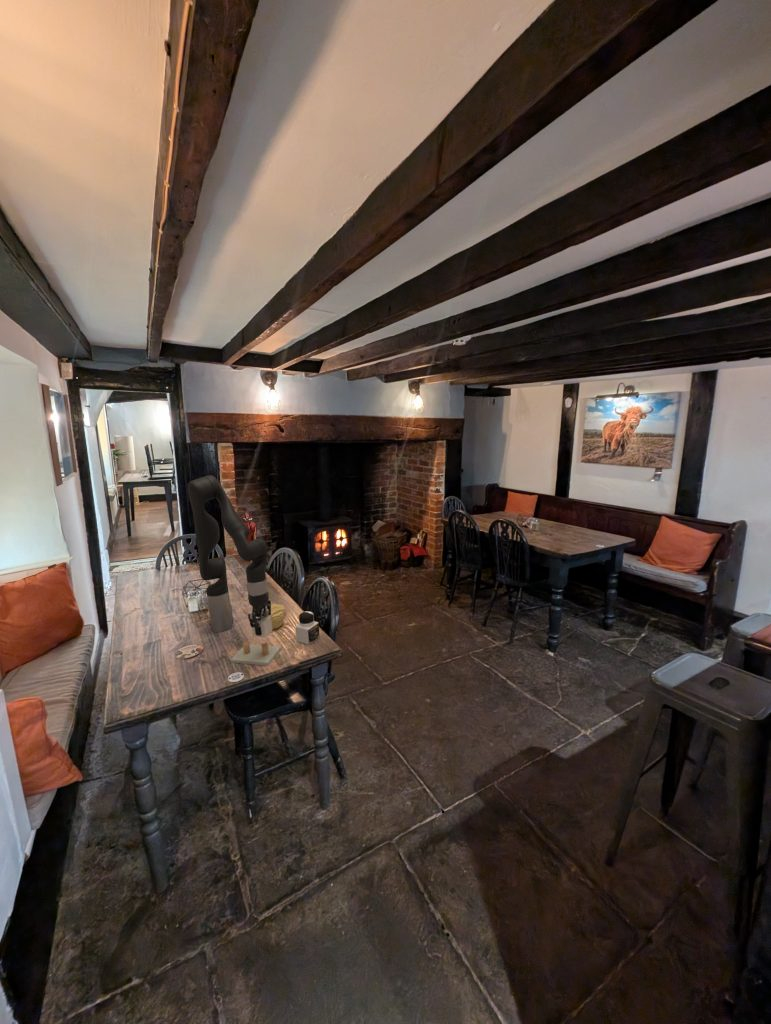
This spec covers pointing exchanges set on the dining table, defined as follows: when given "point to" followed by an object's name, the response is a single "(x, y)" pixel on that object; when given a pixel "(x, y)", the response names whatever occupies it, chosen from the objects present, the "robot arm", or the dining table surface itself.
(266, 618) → the beige block
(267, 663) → the board
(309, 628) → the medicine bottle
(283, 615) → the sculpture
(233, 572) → the dining table surface
